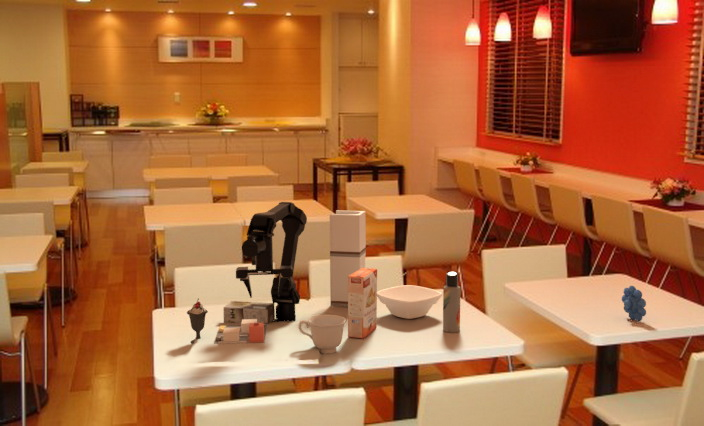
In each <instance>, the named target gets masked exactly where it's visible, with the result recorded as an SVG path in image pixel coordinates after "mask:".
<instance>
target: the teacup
mask: <svg viewBox="0 0 704 426" xmlns="http://www.w3.org/2000/svg"><path fill="white" fill-rule="evenodd" d="M346 322H347V319H346V318H345V317H344V316H341V315H338V314H319V315H314V316H311V317H310V318H308V319H307V320H306V319H302V320H300V321H299V323H298V330H299V332H300V333H301V334H303V335H306V336H307V337H309V338H310V339H311V341H312V344H313V345H314V346H315V347H316V348H318V349H319V353H320V354H333V353H335V352H337V348H338V347H339V346H340V345H341V343H342V341H343V332H344V327H345V323H346ZM303 324H305V325H306V328H310V333H311V334H310V333H309V332H307V331H305V330H304V329H303V328H302V325H303Z"/></svg>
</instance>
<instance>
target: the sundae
mask: <svg viewBox="0 0 704 426" xmlns="http://www.w3.org/2000/svg"><path fill="white" fill-rule="evenodd" d="M199 300H200V298H199V297H198V298H197V300H196V303H193V305H192V307H191V309H189V310H187V311H186V315H188V316H189V320H190V327H191V329H192V331H194V332H195V338H194V339H193V340H190V343H191V344H194V343H195V341H196V340H201V339H202V338H201V331H202V330H203V329H204V328H205V321H206V315H207V313H209V311H208V310H207V309H206V308H205V307H204V305H203V304H202V303H201V302H200V301H199Z"/></svg>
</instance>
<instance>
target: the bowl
mask: <svg viewBox="0 0 704 426" xmlns="http://www.w3.org/2000/svg"><path fill="white" fill-rule="evenodd" d="M441 297H443V293H442V292H441V291H438V290H436V289H432V288H430V287H425V286H419V285H414V284H413V285H412V284H406V285H405V284H404V285H396V286H392V287H388V288H384V289H383V288H382V289H380V290H377V299H378V300H379V301H380V303H382V304H383V305H385V307H386V308H387V310H388V311H389V313H390V314H391V315H393V316H395V317H399V318H403V319H408V320H410V319H417V318H421V317H424V316H426V315H427V314H428V313H429V311H430V310H431V309H432V307H433V306H434V305H436V304H437V303H438V302H439V300H440V299H441Z"/></svg>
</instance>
